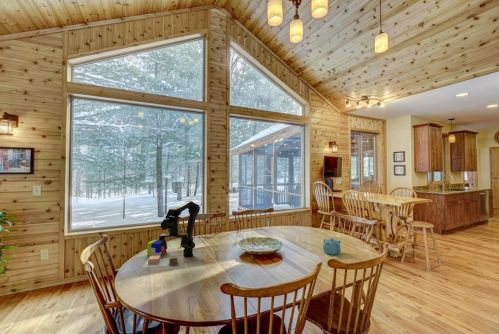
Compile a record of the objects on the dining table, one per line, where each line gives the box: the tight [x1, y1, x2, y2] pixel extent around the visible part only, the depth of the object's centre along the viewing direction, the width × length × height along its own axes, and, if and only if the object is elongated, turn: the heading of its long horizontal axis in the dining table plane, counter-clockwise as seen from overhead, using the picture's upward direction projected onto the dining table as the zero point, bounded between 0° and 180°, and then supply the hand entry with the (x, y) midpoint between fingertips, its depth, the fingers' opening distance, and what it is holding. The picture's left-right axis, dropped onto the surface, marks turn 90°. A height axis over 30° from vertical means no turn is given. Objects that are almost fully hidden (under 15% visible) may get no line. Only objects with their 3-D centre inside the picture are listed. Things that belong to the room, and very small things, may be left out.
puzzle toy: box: [146, 238, 167, 256], centre depth 185 cm, size 10×10×10 cm
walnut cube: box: [168, 255, 179, 266], centre depth 167 cm, size 5×5×5 cm
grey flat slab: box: [142, 257, 170, 268], centre depth 167 cm, size 16×14×1 cm
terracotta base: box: [147, 255, 161, 264], centre depth 169 cm, size 7×7×3 cm
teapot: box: [322, 237, 342, 256], centre depth 191 cm, size 20×17×12 cm
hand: (173, 248), depth 167 cm, fingers open, 9 cm apart
